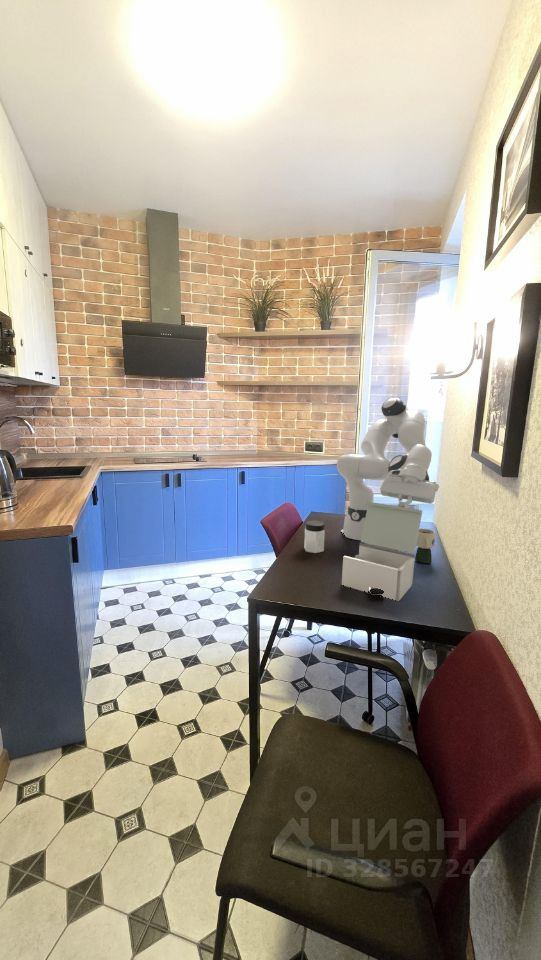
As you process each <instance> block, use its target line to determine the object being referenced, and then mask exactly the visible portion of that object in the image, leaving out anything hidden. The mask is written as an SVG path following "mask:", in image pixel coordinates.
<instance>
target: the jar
mask: <svg viewBox="0 0 541 960" xmlns="http://www.w3.org/2000/svg"><path fill="white" fill-rule="evenodd" d="M304 526H305V527H304V543H303V544H304V547H303V548H304V550H305V552H307V553H312V554H317V553H321V552H323V553H324V550H325V535H326V534H325V532H326V531H325V522H324V521H322V520H321V521H320V520H314V519H313V520H308V521H306V522H305V525H304Z"/></svg>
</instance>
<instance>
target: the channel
mask: <svg viewBox="0 0 541 960" xmlns="http://www.w3.org/2000/svg"><path fill="white" fill-rule="evenodd" d="M358 548H359V549H358V550H359V551H358V555H360V556H363V557H365V558H368V559H370V560H373V561H375V562H377V563H378V564H377V563H372V562H368V561H364V560H360V559H356V558H355V557H353V556H352V557H351V556H347V555H344V556H343V557H342V574H341V585H342V586H343V585H344V587H347V588H350V587H351V588H352V589H354V590H358V591H361V592H364V591H365V592H366V593H368V591H369V587H373V588H378V589H381V590H383V591H384V593H383V595H382V596H383V597H382V598H385V597H386V599H388V598H389V600H392V599H393V600H392V601H395V600H396V601H395V602H399V601H400V600H401V599H402V598H403V597H404V595H405V594H406V593H407V592H408V591H409V590H410V588H412V586H413V581H414V570H415V561H416V560H415V556H416V554H414V553H409V552H405V551H400V550H398V551H396V550H391V549H387V548H382V547H377V546H373V545H368V544H365V543H364V542H359V547H358ZM351 588H350V589H351Z"/></svg>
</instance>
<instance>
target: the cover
mask: <svg viewBox="0 0 541 960" xmlns="http://www.w3.org/2000/svg"><path fill="white" fill-rule="evenodd" d="M367 505H368V508H367V513H366V518H365V523H364V528H363V533H362V538H361V540H360V543H364V544H365V543H368V544H373V545H377V546H382V547H386V548H391V549H396V550H398V551H400V552H405V553H409V554H414V555H416V553H415V552H416V550H417V546H416V544H417V538H418V533H419V529H420V526H421V521H422V515H423V510H421V509H416V508H411V507H410V508H409V507H407V508H405V507H398V505H392V504H385V503H380V502H374V501H373V502H367Z"/></svg>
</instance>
